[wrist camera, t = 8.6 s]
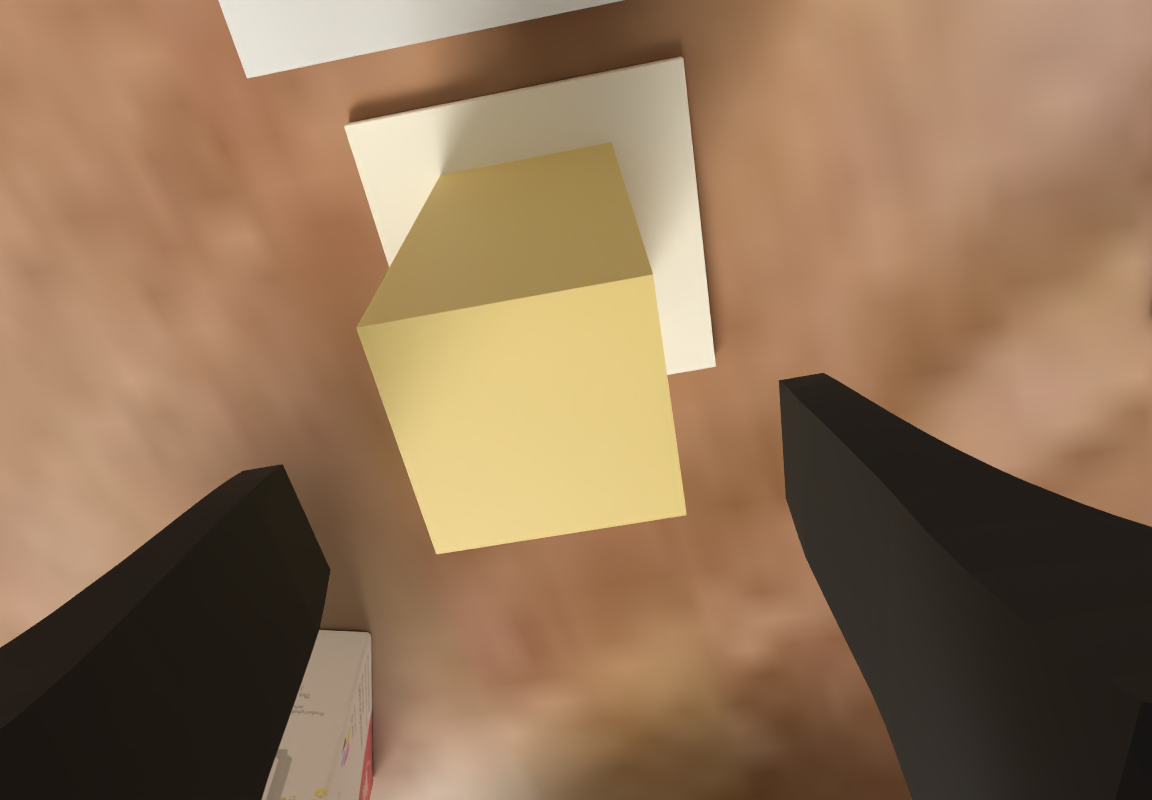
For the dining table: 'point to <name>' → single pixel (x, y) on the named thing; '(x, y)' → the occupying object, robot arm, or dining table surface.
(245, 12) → the holder
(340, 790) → the ink cartridge box
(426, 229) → the block
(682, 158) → the mat
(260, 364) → the dining table surface
